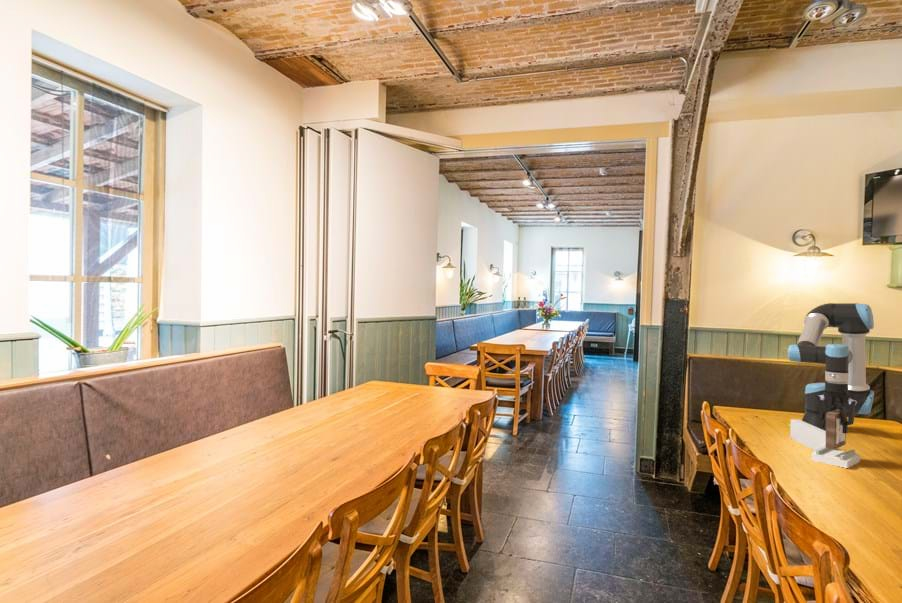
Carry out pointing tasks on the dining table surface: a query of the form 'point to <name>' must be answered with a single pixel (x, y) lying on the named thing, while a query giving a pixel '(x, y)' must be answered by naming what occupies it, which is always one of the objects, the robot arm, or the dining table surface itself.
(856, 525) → the dining table surface
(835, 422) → the brown picture frame
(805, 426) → the decorative sign
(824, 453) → the panel
